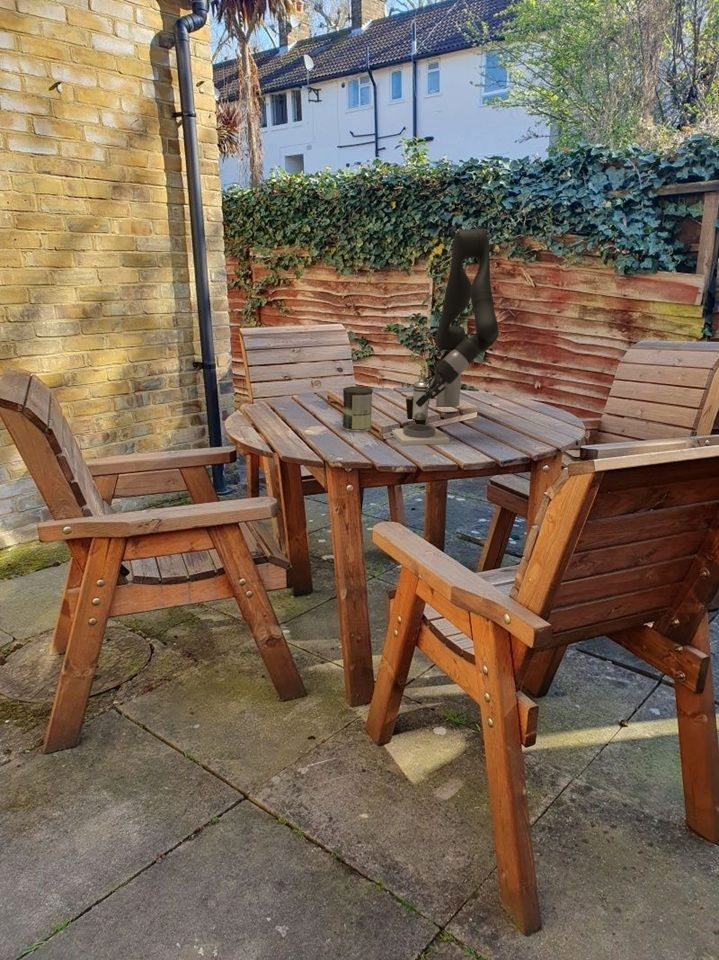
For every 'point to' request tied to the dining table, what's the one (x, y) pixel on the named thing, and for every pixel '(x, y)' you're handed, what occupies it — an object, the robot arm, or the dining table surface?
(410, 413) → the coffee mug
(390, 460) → the dining table surface
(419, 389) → the cylinder
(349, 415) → the coffee can
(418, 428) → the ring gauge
